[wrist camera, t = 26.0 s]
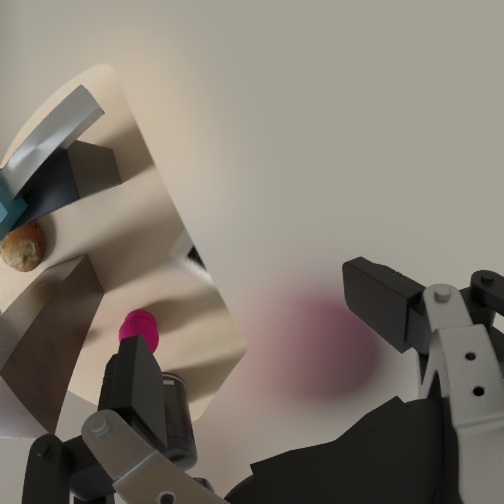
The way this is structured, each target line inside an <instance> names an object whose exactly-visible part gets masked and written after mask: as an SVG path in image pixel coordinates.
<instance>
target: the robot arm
mask: <svg viewBox="0 0 504 504" xmlns="http://www.w3.org/2000/svg"><path fill="white" fill-rule="evenodd" d="M342 272H343V282H344V293H345V300H346V303H347V306H348V307H349V309H350V310H351V311H352V312H353V313H354V314H356V315H357V316H358V317H359V318H360V319H361V320H363V321H364V322H365V323H366V324H367V325H368V326H370V327H371V328H372V329H373V330H374V331H376V332H377V333H378V334H379V335H380V336H381V337H383V338H384V339H385V340H386V341H388V343H390V344H391V345H392V346H393V347H394V348H395V349H397V350H398V351H399V352H400V353H404V352H405V351H407V350H408V349H410V348H411V347H413V348H414V349H415V350H416V366H417V380H418V400H413V401H409V402H406V403H404V402H403V401H402V400H401V399H400V398H399V397H398V396H395V397H394V398H392V399H391V400H389V401H388V402H386V403H384V404H383V405H381V406H379V407H378V408H376V409H374V410H373V411H371V412H369V413H367V414H366V415H365V416H364V417H362V418H361V419H360V420H359V421H358V422H357V423H356V424H354V425H353V426H352V427H351V428H350V429H349V430H347V431H346V432H345V433H344V434H343V435H341V436H340V437H339V438H338V439H336V440H334V441H332V442H329V443H324V444H320V445H316V446H311V447H306V448H301V449H296V450H290V451H288V452H285V453H282V454H280V455H277V456H274V457H271V458H268V459H266V460H262V461H259V462H256V463H253V464H250V466H251V470H252V472H253V475H251V476H249V477H248V478H246V479H245V480H243V481H242V482H240V483H239V484H238V485H236V486H235V487H234V488H233V489H232V490H231V491H230V492H229V493H228V494H227V495H226V496H225V498H224V499H222V498H221V497H219V496H218V495H216V494H215V492H214V489H213V487H212V485H211V484H210V482H209V481H208V480H206V479H204V478H192V477H190V476H189V475H188V474H186V473H185V471H187V470H189V469H191V468H192V467H194V466H195V464H196V463H197V458H198V457H197V451H196V446H195V440H194V435H193V430H192V424H191V417H190V411H189V405H188V397H187V387H186V384H185V382H184V381H183V380H182V379H181V378H179V377H178V376H176V375H173V374H168V373H161V370H160V367H159V365H158V363H157V361H156V359H155V358H154V356H153V354H152V352H151V350H150V348H149V347H148V345H147V343H146V341H145V339H144V337H143V336H142V335H141V334H140V333H139V334H136V335H132V336H129V337H125V338H122V339H121V341H120V346H119V351H118V354H114V355H113V356H112V357H111V359H110V360H109V362H108V363H107V365H106V369H105V374H104V375H105V376H104V378H103V385H102V388H101V393H100V398H99V404H98V410H97V412H95V413H94V414H92V415H91V416H90V417H88V418H87V420H86V421H85V422H84V424H83V426H82V430H81V435H80V436H78V437H76V438H73V439H70V440H68V441H66V442H62V441H61V440H60V439H59V438H58V437H57V436H55V435H53V434H45V435H42V436H40V437H39V438H37V439H36V440H35V441H34V443H33V444H32V446H31V449H30V452H29V457H28V462H27V467H26V473H25V479H24V487H23V495H22V504H69V498H70V493H71V494H72V495H74V504H115V501H114V493H116V492H117V493H118V494H119V495H120V497H121V498H122V499H123V500H124V501H125V502H126V503H127V504H504V334H503V333H502V332H500V331H499V330H498V329H496V328H495V327H493V322H494V318H495V314H496V312H497V313H499V314H500V315H502V316H503V317H504V277H503V276H501V275H499V274H497V273H495V272H492V271H488V270H480V271H476V272H474V273H473V274H472V276H471V282H470V287H468V288H464V289H461V290H458V289H456V288H455V287H453V286H451V285H447V284H435V285H431V286H429V287H428V288H426V287H424V286H423V285H421V284H419V283H417V282H415V281H414V280H412V279H410V278H408V277H406V276H403V275H402V274H401V273H399V272H395V270H393V269H391V268H389V267H387V266H385V265H380V264H375V263H372V262H370V261H368V260H367V259H365V258H363V257H357V258H355V259H352V260H350V261H347V262H345V263H344V264H343V266H342Z"/></svg>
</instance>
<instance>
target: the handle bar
mask: <svg viewBox="0 0 504 504" xmlns="http://www.w3.org/2000/svg"><path fill="white" fill-rule="evenodd" d="M104 114H105V112H104V111H103V110H102V108H101V107H100V106H99V104H98V103H97V101H96V100H95V99H94V97H93V96H92V95H91V93H90V92H89V91H88V90H87V89H86V88H85V87H84V86H83V85H80V86H79V87H77V88H76V89H75V90H74V91H73V92H72V93H71V94H70V95H68V96H67V97H66V98H65V99H64V100H63V101H62V102H61V103H60V104H59V105H58V106H57V107H56V108H55V109H54V110H53V111H52V112H51V113H50V114H49V115H48V116H47V117H46V118H45V119H44V120H43V121H42V122H41V123H40V124H39V125H38V126H37V127H36V128H35V129H34V131H33V132H32V133H31V134H30V135H29V136H28V137H27V138H26V140H25V141H24V142H23V143H22V144H21V145H20V147H19V148H18V149H17V150H16V152H15V153H14V154H13V155H12V157H11V158H10V159H9V160H8V162H7V163H6V164H5V166H4V167H3V168H1V169H0V241H2V240H3V239H4V238H5V236H6V235H7V234H8V232H9V231H10V229H11V228H12V227H13V225H14V224H15V222H16V221H17V220H18V218H19V217H20V216H21V214H22V213H23V212H24V211H25V209H26V208H27V207H28V204H27V203H26V202H25V200H24V199H23V197H24V196H25V195H26V193H27V192H28V191H29V190H30V188H31V187H32V186H33V185H34V184H35V182H36V181H37V180H38V179H39V178H40V177H41V176H42V174H43V173H44V172H45V171H46V170H47V169H48V168H49V167H50V165H51V164H52V163H53V162H54V161H55V160H56V159H57V158H58V157H59V156H60V155H61V154H62V153H63V152H64V151H65V150H66V149H67V148H68V147H69V146H70V145H71V144H72V143H73V142H74V141H75V140H76V139H77V138H78V137H79V136H80V135H81V134H82V133H83V132H84V131H85V130H87V129H88V128H89V127H90V126H91V125H92V124H93V123H94V122H96V121H97V120H98V119H99V118H100V117H101V116H102V115H104Z"/></svg>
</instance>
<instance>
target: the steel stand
mask: <svg viewBox="0 0 504 504" xmlns="http://www.w3.org/2000/svg"><path fill="white" fill-rule="evenodd" d="M120 184H122V183H121V179H120V176H119V172H118V168H117V165H116V161H115V157H114V153H113V150H112V149H109V148H105V147H101V146H98V145H94V144H90V143H86V142H82V141H78V140H75V141H74V142H73V143H72V144H71V145H70V146H69V147H68V148H67V149H66V150H65V151H64V152H63V153H62V154H61V155H60V156H59V157H58V158H57V159H56V160H55V161H54V162H53V163H52V164H51V165H50V167H49V168H48V169H47V170H46V171H45V172H44V173H43V174H42V176H41V177H40V178H39V179H38V180H37V181H36V182H35V184H34V185H33V186H32V187H31V188H30V190H29V191H28V192H27V193H26V195H25V196H24V197H23V199H24V200H25V202H26V203H27V204H28V207H27V208H26V209H25V211H24V212H23V213H22V214H21V216H20V217H19V218H18V220H17V221H16V222H15V224H14V225H13V227H12V228H11V229H10V231H9V232H8V233H10V232H11V231H13V230H15V229H17V228H19V227H21V226H23V225H25V224H28V223H30V222H32V221H34V220H36V219H38V218H40V217H42V216H45V215H47V214H49V213H51V212H53V211H56V210H58V209H60V208H63V207H65V206H67V205H70V204H72V203H74V202H77V201H79V200H81V199H84V198H86V197H89V196H91V195H94V194H96V193H99V192H101V191H104V190H107V189H109V188H112V187H114V186H117V185H120Z"/></svg>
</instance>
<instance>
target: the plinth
mask: <svg viewBox="0 0 504 504" xmlns="http://www.w3.org/2000/svg"><path fill="white" fill-rule="evenodd" d="M103 296H104V292H103V290H102V288H101V286H100V283H99V281H98V279H97V276H96V274H95V272H94V269H93V267H92V264H91V262H90V259H89V257H88V254H84V255H82V256H79V257H77V258H74V259H71V260H69V261H66V262H64V263H61V264H59V265H56V266H54V267H51V268H49V269H46V270H44V271H43V272H42V273H41V274H40V275H39V276H38V277H37V278H36V279H35V280H34V281H33V282H32V283H31V284H30V285H29V286H28V287H27V288H26V289H25V290H24V291H23V292H22V293H21V294H20V295H19V296H18V297H17V299H16V300H15V301H14V302H13V303H12V304H11V305H10V306H9V307H8V308H7V309H6V311H5V312H4V313H3V314H2V315H1V316H0V438H39V437H40V436H42V435H45V434H53V435H54V434H55V430H56V426H57V422H58V419H59V415H60V412H61V408H62V405H63V401H64V398H65V395H66V392H67V388H68V385H69V382H70V379H71V376H72V373H73V370H74V368H75V365H76V362H77V359H78V356H79V354H80V351H81V348H82V346H83V343H84V341H85V338H86V335H87V333H88V331H89V328H90V326H91V323H92V321H93V318H94V316H95V314H96V311H97V309H98V307H99V305H100V302H101V300H102V298H103Z"/></svg>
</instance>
